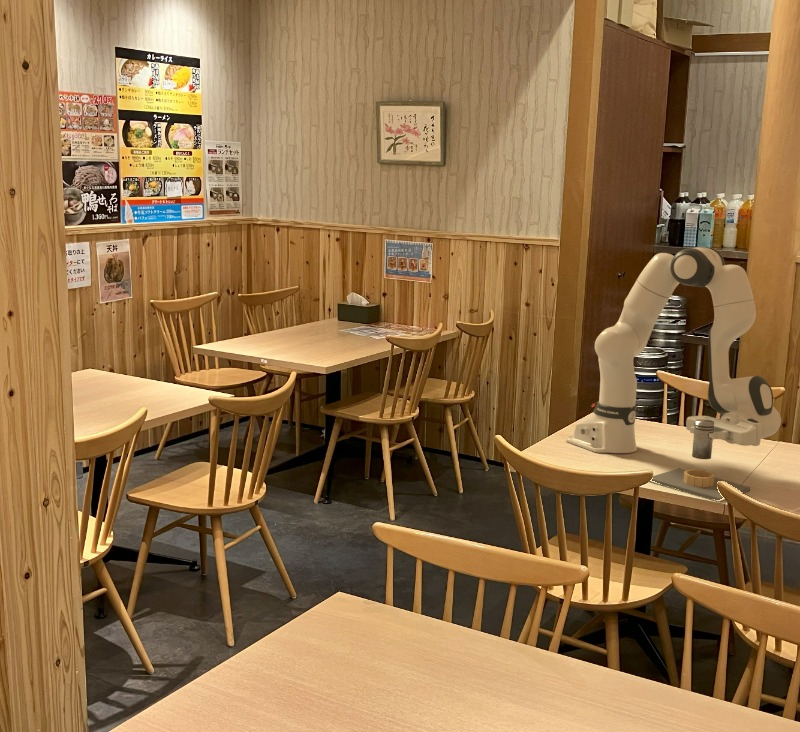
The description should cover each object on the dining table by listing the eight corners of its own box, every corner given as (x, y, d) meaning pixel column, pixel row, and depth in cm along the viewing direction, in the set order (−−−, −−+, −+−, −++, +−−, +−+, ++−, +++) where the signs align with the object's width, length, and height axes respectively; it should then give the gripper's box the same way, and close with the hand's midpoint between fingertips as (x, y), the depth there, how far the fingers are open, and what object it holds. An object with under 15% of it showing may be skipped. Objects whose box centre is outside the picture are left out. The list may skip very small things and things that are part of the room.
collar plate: (647, 481, 269) (648, 469, 268) (678, 471, 279) (679, 459, 279) (719, 502, 253) (720, 489, 252) (749, 490, 263) (751, 478, 263)
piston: (688, 456, 265) (691, 420, 263) (698, 453, 268) (701, 418, 266) (704, 460, 261) (708, 424, 259) (714, 457, 264) (717, 421, 262)
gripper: (706, 408, 278) (673, 413, 271) (766, 424, 261) (732, 430, 254) (704, 429, 279) (671, 435, 272) (764, 447, 262) (730, 453, 255)
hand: (701, 433), depth 263 cm, fingers closed on piston, 5 cm apart
